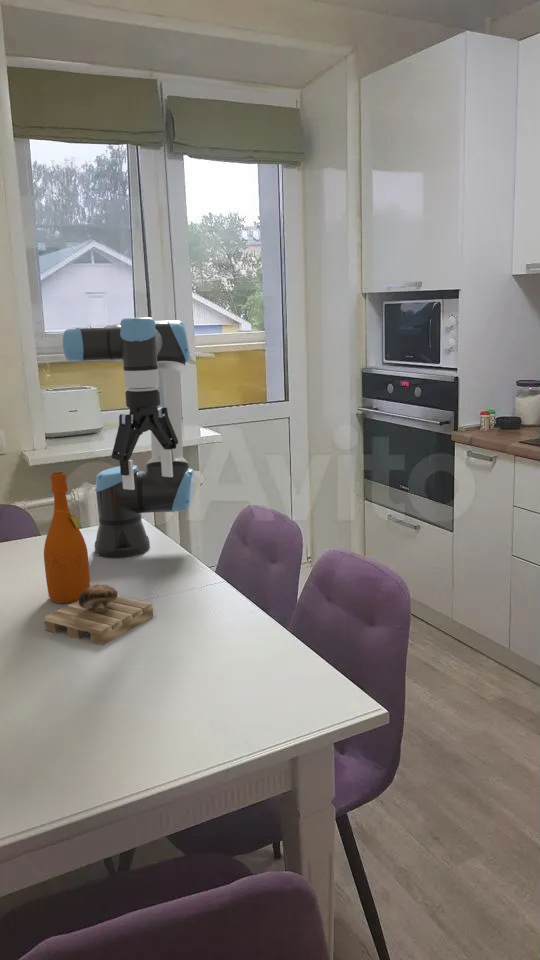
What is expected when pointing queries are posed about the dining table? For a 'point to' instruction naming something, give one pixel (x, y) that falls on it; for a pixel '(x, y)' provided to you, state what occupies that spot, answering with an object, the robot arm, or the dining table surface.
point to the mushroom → (97, 597)
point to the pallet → (99, 619)
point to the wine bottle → (65, 549)
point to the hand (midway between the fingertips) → (148, 482)
